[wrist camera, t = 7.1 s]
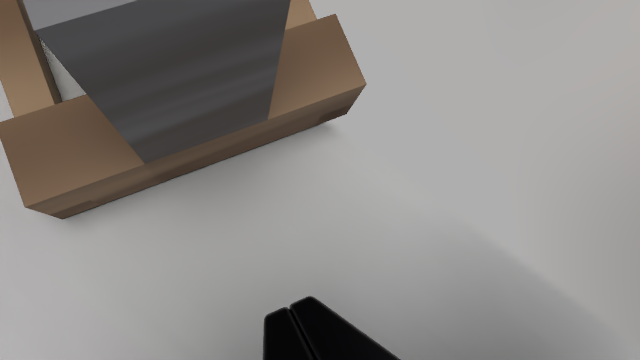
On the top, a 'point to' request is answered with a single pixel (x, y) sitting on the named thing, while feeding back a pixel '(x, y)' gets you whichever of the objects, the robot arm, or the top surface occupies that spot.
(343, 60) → the wooden display stand
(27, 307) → the top surface
